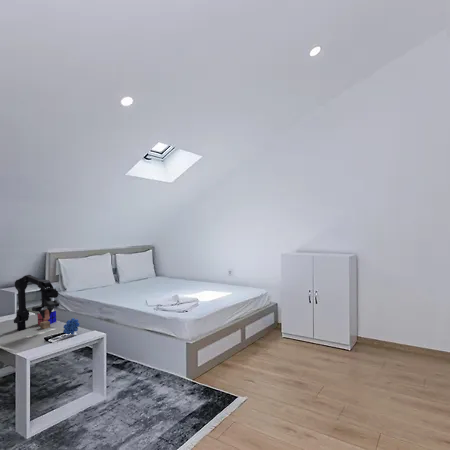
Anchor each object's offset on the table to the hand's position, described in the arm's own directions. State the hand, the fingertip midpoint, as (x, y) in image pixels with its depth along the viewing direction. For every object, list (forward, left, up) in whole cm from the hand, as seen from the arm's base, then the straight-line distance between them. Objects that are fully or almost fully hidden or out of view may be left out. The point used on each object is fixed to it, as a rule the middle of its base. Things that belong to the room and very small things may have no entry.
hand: (46, 317), depth 265 cm
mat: (-9, +3, -11) cm, 14 cm away
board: (0, -4, -11) cm, 12 cm away
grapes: (+23, +4, -11) cm, 26 cm away
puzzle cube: (-23, +15, -11) cm, 30 cm away
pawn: (0, 0, -1) cm, 1 cm away
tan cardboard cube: (-10, +5, -11) cm, 15 cm away
